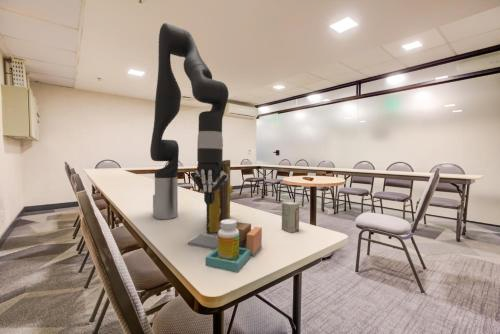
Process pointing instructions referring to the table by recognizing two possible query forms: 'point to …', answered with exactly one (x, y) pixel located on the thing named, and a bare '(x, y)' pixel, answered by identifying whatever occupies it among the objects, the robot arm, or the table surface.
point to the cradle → (227, 264)
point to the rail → (252, 243)
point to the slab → (241, 232)
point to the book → (219, 203)
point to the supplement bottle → (228, 240)
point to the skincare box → (290, 216)
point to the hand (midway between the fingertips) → (209, 203)
